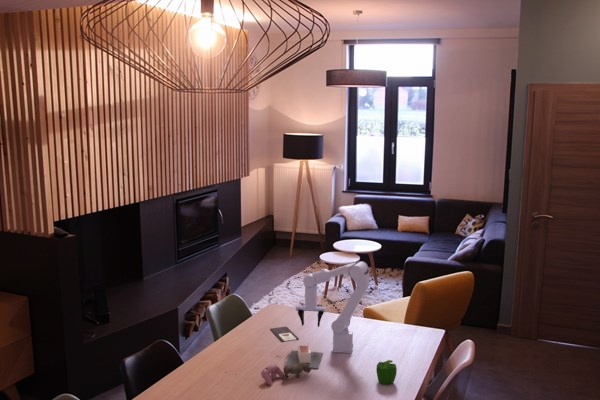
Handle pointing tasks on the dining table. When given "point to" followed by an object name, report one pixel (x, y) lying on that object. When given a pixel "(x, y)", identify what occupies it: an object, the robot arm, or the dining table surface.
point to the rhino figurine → (296, 369)
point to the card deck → (304, 354)
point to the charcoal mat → (314, 363)
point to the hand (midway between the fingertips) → (310, 325)
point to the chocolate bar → (284, 334)
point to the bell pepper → (386, 372)
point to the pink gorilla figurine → (273, 370)
